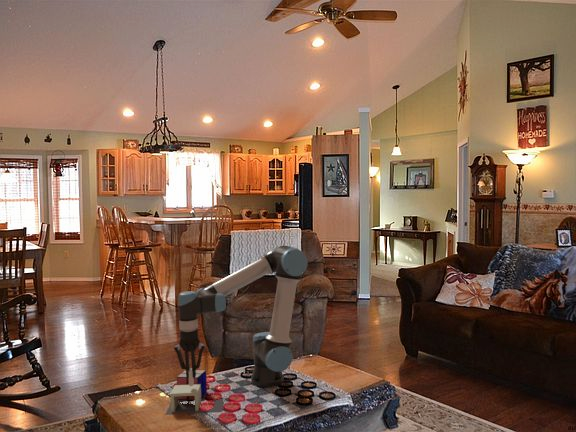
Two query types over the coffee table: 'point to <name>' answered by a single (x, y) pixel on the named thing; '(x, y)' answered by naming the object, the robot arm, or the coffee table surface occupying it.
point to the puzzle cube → (198, 379)
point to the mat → (191, 408)
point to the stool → (186, 391)
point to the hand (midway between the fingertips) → (191, 384)
